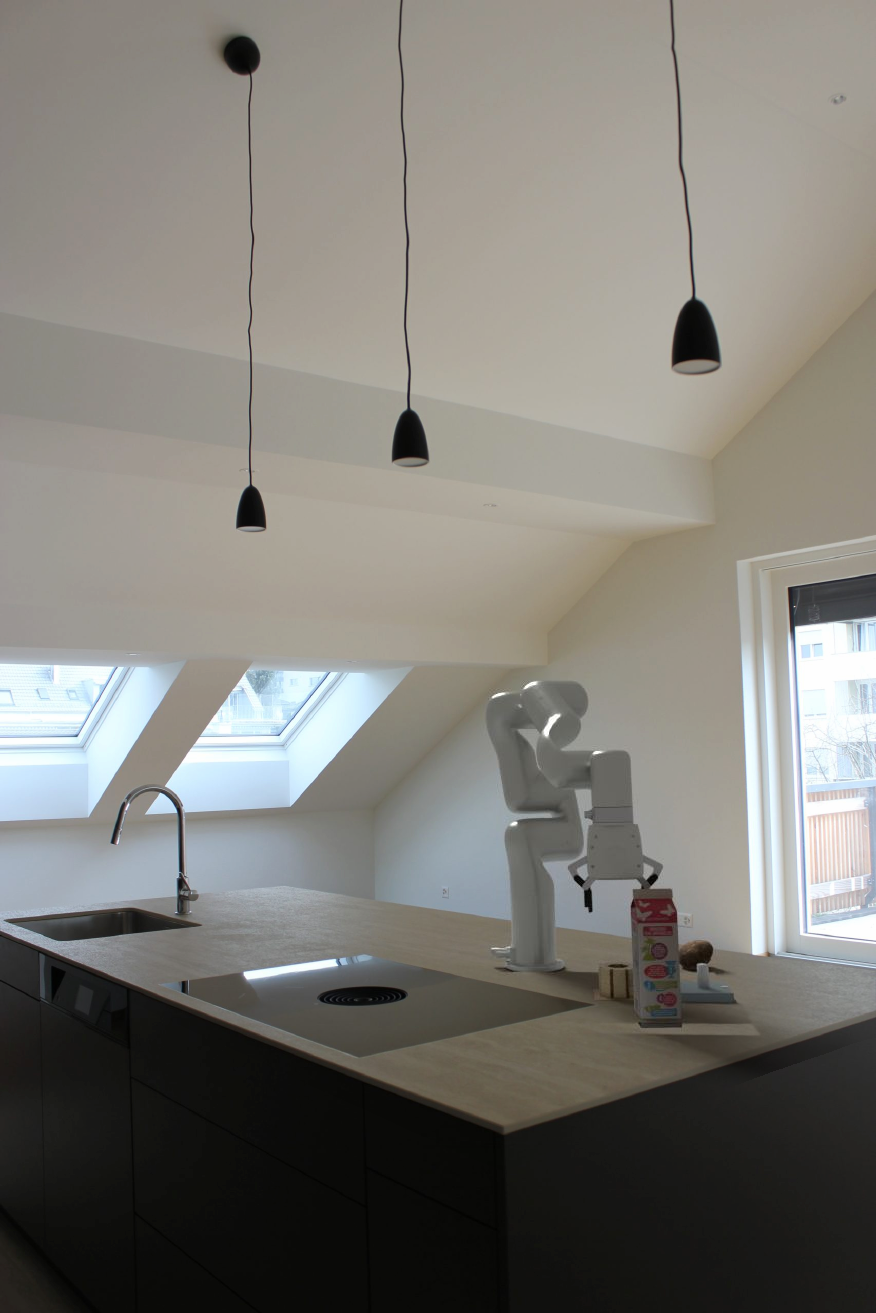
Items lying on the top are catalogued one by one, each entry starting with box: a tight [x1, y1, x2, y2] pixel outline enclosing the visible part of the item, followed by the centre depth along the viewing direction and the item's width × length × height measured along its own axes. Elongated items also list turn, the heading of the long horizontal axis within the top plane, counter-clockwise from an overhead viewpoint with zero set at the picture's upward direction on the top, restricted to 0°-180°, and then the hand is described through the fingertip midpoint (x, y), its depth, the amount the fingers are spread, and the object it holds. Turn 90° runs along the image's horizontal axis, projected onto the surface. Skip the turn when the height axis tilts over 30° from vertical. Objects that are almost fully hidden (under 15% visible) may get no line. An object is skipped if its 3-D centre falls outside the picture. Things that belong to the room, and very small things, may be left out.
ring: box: [597, 961, 634, 999], centre depth 184 cm, size 7×7×5 cm
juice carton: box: [630, 888, 683, 1029], centre depth 170 cm, size 7×7×22 cm
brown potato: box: [679, 939, 714, 971], centre depth 214 cm, size 8×8×6 cm
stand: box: [592, 988, 634, 1001], centre depth 184 cm, size 9×9×6 cm
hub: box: [680, 963, 735, 1003], centre depth 181 cm, size 9×9×7 cm
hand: (616, 911), depth 185 cm, fingers open, 9 cm apart
